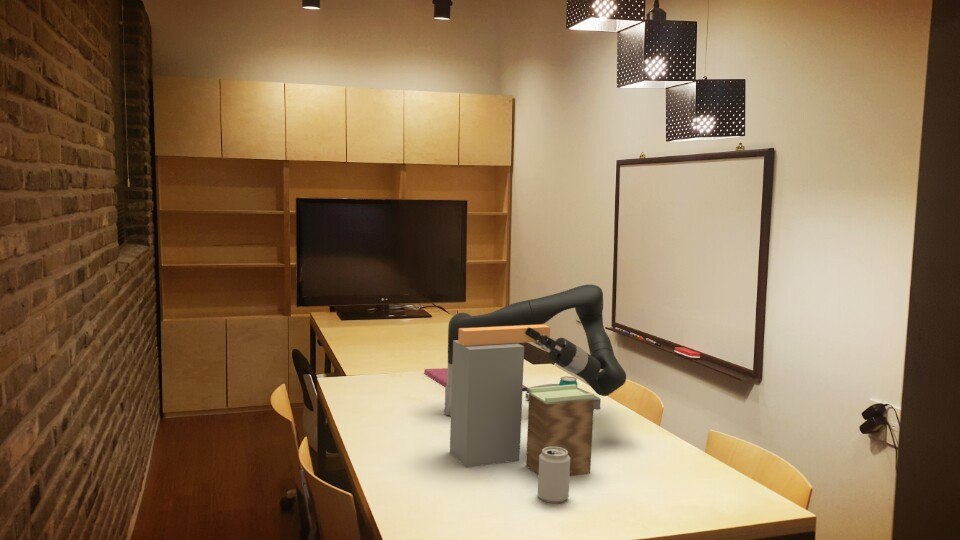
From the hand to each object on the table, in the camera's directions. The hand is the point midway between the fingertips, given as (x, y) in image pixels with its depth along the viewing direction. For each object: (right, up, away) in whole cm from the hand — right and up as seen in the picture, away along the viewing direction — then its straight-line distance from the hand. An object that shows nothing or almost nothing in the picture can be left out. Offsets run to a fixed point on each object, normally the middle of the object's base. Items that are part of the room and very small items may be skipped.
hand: (523, 329), depth 205 cm
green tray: (+9, -17, -10) cm, 22 cm away
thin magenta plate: (-14, -28, +76) cm, 83 cm away
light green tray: (+16, -31, +53) cm, 64 cm away
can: (+6, -39, -26) cm, 48 cm away
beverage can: (+16, -33, +30) cm, 48 cm away
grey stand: (-11, -35, 0) cm, 37 cm away
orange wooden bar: (-5, -3, -2) cm, 7 cm away
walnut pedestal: (+9, -37, -8) cm, 39 cm away
